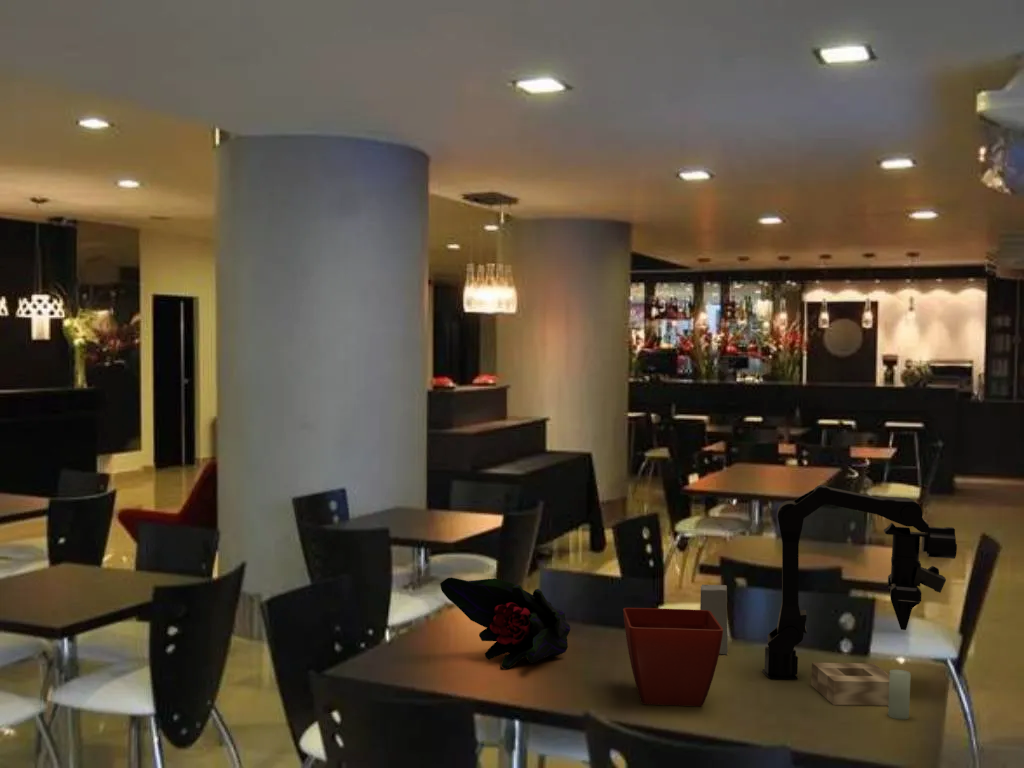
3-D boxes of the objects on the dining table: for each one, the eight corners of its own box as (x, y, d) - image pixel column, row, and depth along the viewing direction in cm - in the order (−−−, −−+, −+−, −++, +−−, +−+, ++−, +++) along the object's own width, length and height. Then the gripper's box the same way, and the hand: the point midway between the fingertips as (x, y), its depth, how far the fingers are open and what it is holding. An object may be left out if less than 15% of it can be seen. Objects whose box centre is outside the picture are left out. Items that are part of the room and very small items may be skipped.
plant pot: (620, 682, 241) (622, 606, 241) (707, 685, 241) (710, 609, 240) (626, 709, 222) (629, 626, 222) (721, 713, 222) (724, 630, 221)
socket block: (833, 704, 229) (834, 680, 229) (811, 685, 243) (812, 662, 243) (898, 705, 230) (899, 681, 230) (872, 685, 244) (873, 663, 244)
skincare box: (727, 655, 267) (729, 590, 266) (697, 653, 268) (699, 588, 268) (727, 647, 275) (729, 584, 275) (698, 644, 276) (700, 582, 276)
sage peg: (892, 719, 221) (894, 674, 221) (884, 712, 225) (886, 669, 225) (912, 719, 221) (913, 675, 221) (904, 713, 225) (905, 669, 225)
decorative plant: (562, 700, 258) (478, 691, 236) (497, 636, 275) (413, 622, 254) (606, 626, 255) (525, 610, 234) (538, 566, 273) (457, 546, 251)
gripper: (948, 565, 232) (944, 638, 233) (940, 551, 250) (937, 619, 251) (892, 560, 236) (889, 633, 236) (889, 547, 254) (886, 614, 254)
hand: (902, 625), depth 244 cm, fingers open, 9 cm apart
